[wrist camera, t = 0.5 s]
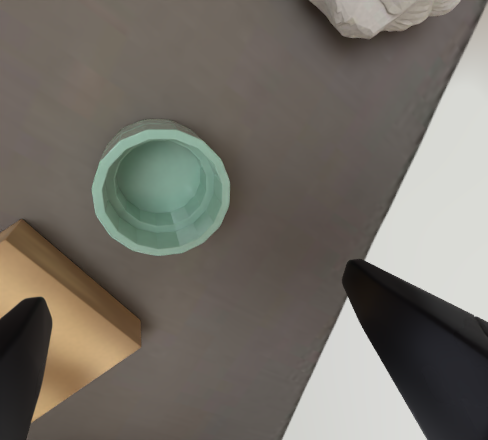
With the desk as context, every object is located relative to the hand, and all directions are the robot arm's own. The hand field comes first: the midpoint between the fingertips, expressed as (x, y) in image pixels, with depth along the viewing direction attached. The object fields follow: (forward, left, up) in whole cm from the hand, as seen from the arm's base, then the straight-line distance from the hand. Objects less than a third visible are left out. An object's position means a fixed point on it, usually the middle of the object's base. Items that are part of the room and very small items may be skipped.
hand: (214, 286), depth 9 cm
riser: (-15, -6, -14) cm, 21 cm away
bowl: (-1, 0, -14) cm, 14 cm away
